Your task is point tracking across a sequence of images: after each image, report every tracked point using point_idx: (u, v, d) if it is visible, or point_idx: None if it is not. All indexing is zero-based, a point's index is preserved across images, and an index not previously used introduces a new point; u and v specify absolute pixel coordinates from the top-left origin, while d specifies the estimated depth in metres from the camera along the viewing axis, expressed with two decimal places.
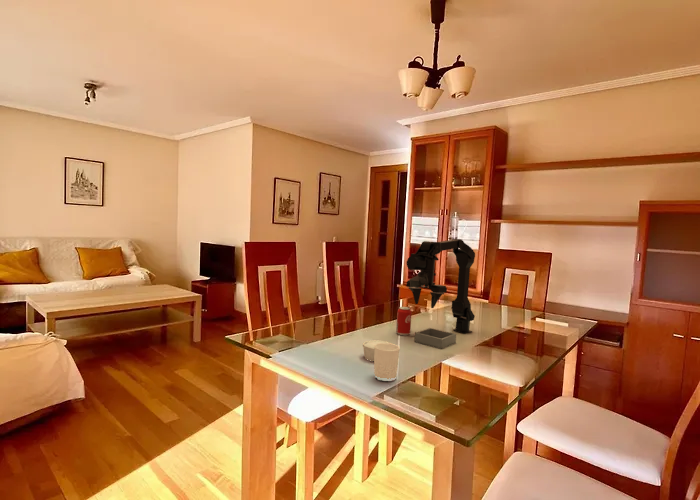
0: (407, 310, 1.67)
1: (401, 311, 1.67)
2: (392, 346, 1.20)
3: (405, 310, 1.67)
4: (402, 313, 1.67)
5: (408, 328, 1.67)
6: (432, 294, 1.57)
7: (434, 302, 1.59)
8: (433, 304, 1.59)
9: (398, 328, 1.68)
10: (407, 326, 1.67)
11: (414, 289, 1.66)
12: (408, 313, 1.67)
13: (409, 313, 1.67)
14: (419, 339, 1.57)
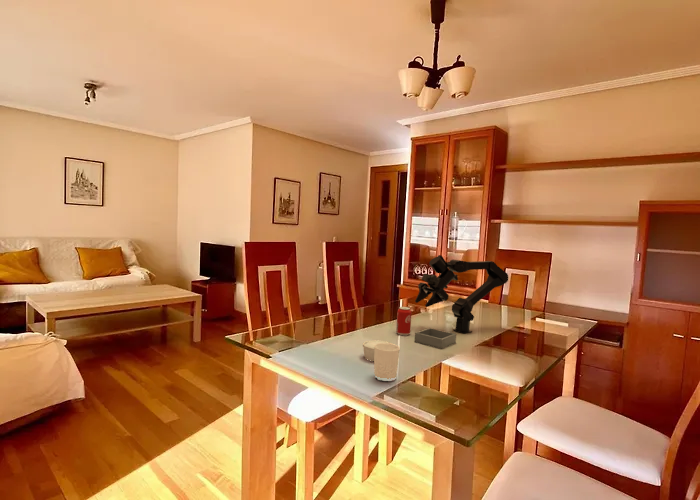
0: (407, 310, 1.67)
1: (401, 311, 1.67)
2: (392, 346, 1.20)
3: (405, 310, 1.67)
4: (402, 313, 1.67)
5: (408, 328, 1.67)
6: (433, 293, 1.67)
7: (430, 302, 1.67)
8: (428, 303, 1.67)
9: (398, 328, 1.68)
10: (407, 326, 1.67)
11: (422, 290, 1.78)
12: (408, 313, 1.67)
13: (409, 313, 1.67)
14: (419, 339, 1.57)
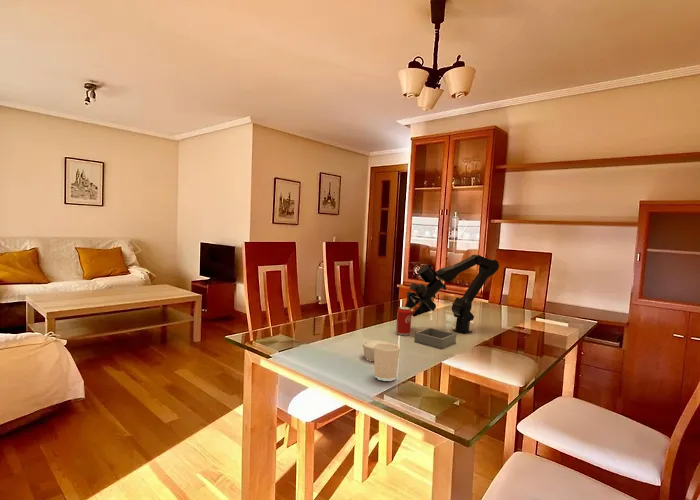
0: (407, 310, 1.67)
1: (401, 311, 1.67)
2: (392, 346, 1.20)
3: (405, 310, 1.67)
4: (402, 313, 1.67)
5: (408, 328, 1.67)
6: (421, 303, 1.65)
7: (418, 312, 1.66)
8: (416, 313, 1.66)
9: (398, 328, 1.68)
10: (407, 326, 1.67)
11: (410, 299, 1.76)
12: (408, 313, 1.67)
13: (409, 313, 1.67)
14: (419, 339, 1.57)
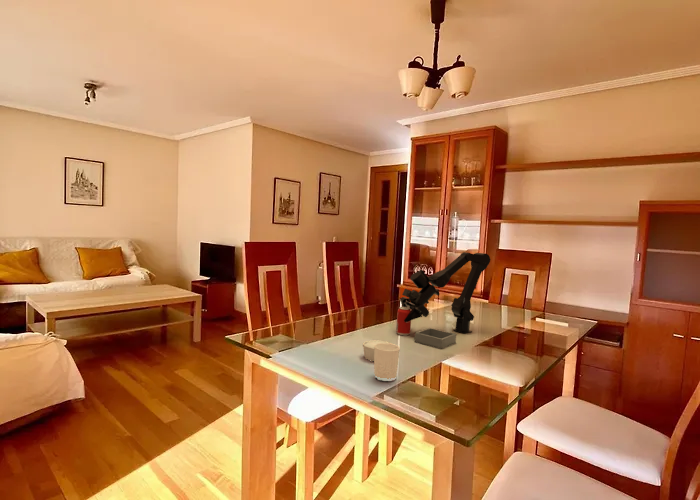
0: (407, 310, 1.67)
1: (401, 311, 1.67)
2: (392, 346, 1.20)
3: (405, 310, 1.67)
4: (402, 313, 1.67)
5: (408, 328, 1.67)
6: (412, 308, 1.65)
7: (409, 317, 1.66)
8: (407, 318, 1.66)
9: (398, 328, 1.68)
10: (407, 326, 1.67)
11: (404, 305, 1.74)
12: (408, 313, 1.67)
13: None
14: (419, 339, 1.57)
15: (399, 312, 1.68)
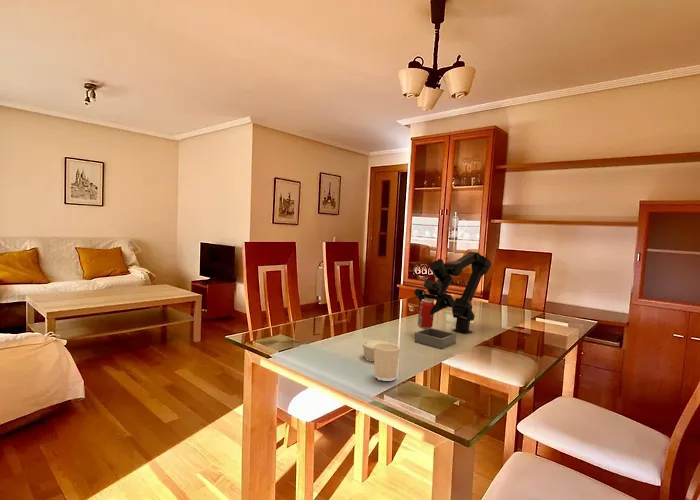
0: (432, 303, 1.59)
1: (426, 304, 1.58)
2: (392, 346, 1.20)
3: (430, 303, 1.58)
4: (428, 306, 1.58)
5: (432, 321, 1.60)
6: (438, 300, 1.58)
7: (435, 309, 1.58)
8: (433, 311, 1.58)
9: (422, 322, 1.59)
10: (431, 319, 1.59)
11: (423, 297, 1.65)
12: (433, 306, 1.59)
13: None
14: (419, 339, 1.57)
15: (424, 305, 1.58)
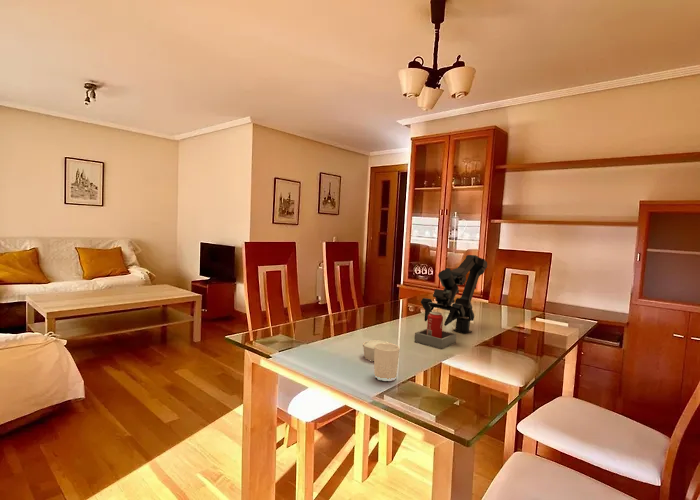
0: (441, 315, 1.57)
1: (436, 317, 1.56)
2: (392, 346, 1.20)
3: (439, 316, 1.57)
4: (437, 319, 1.56)
5: (441, 334, 1.58)
6: (452, 310, 1.55)
7: (449, 320, 1.55)
8: (447, 321, 1.55)
9: (432, 335, 1.57)
10: (441, 332, 1.57)
11: (428, 306, 1.63)
12: (442, 318, 1.57)
13: (442, 318, 1.58)
14: (419, 339, 1.57)
15: (433, 318, 1.56)
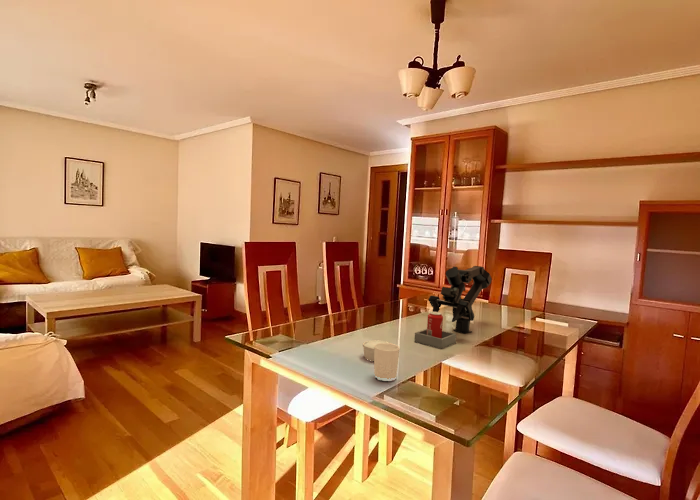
0: (441, 315, 1.57)
1: (436, 317, 1.56)
2: (392, 346, 1.20)
3: (439, 316, 1.57)
4: (437, 319, 1.56)
5: (441, 334, 1.58)
6: (459, 307, 1.61)
7: (456, 317, 1.61)
8: (455, 318, 1.60)
9: (432, 335, 1.57)
10: (441, 332, 1.57)
11: (436, 303, 1.69)
12: (442, 318, 1.57)
13: (442, 318, 1.58)
14: (419, 339, 1.57)
15: (433, 318, 1.56)
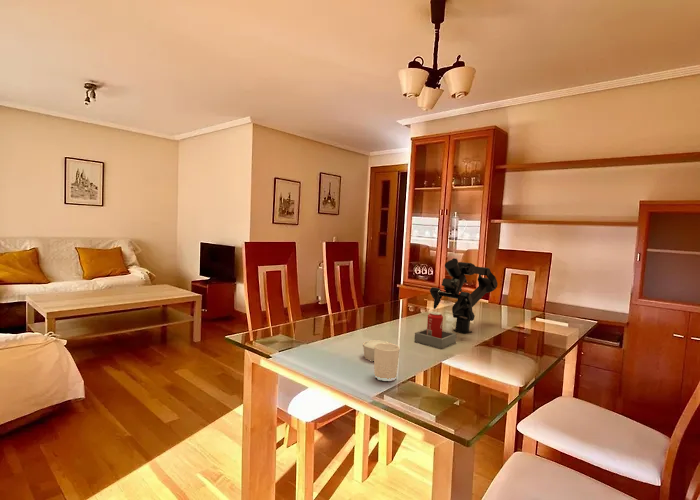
0: (441, 315, 1.57)
1: (436, 317, 1.56)
2: (392, 346, 1.20)
3: (439, 316, 1.57)
4: (437, 319, 1.56)
5: (441, 334, 1.58)
6: (460, 298, 1.63)
7: (457, 307, 1.63)
8: (456, 309, 1.63)
9: (432, 335, 1.57)
10: (441, 332, 1.57)
11: (437, 295, 1.71)
12: (442, 318, 1.57)
13: (442, 318, 1.58)
14: (419, 339, 1.57)
15: (433, 318, 1.56)
